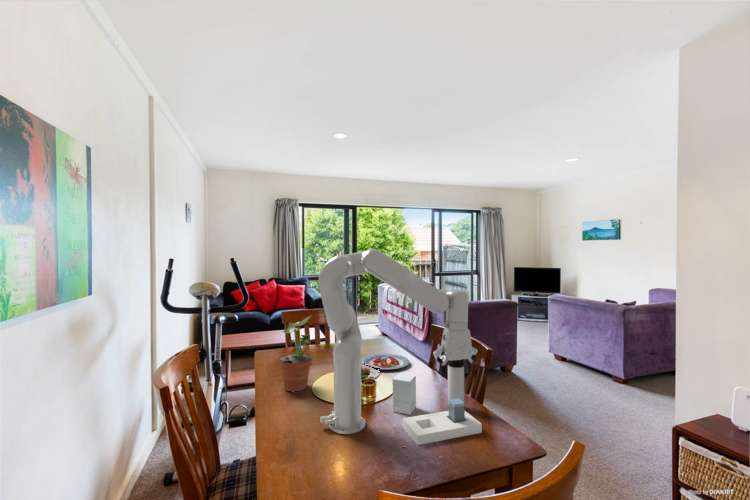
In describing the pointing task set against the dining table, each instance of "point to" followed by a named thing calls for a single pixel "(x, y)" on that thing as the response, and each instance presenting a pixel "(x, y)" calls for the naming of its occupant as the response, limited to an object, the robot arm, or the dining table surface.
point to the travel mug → (455, 380)
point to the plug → (456, 410)
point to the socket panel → (439, 427)
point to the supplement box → (404, 393)
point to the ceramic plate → (386, 361)
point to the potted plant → (296, 362)
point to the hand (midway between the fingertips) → (455, 374)
